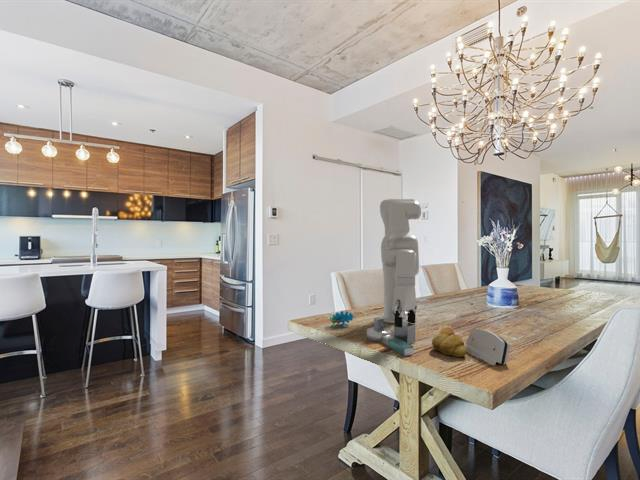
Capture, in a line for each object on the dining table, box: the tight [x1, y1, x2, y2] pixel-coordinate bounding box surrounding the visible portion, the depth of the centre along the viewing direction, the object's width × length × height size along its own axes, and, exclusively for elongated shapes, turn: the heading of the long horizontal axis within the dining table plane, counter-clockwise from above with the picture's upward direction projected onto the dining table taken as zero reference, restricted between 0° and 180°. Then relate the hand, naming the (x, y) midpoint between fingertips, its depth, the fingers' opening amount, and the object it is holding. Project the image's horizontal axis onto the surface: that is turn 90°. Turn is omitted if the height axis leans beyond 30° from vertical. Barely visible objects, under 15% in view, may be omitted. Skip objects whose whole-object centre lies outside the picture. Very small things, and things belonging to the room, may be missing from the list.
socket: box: [393, 321, 416, 345], centre depth 133 cm, size 6×6×7 cm
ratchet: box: [366, 316, 414, 357], centre depth 130 cm, size 10×26×8 cm, turn 20°
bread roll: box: [431, 326, 468, 358], centre depth 121 cm, size 13×10×8 cm
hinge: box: [464, 328, 511, 366], centre depth 118 cm, size 17×5×10 cm, turn 15°
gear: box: [329, 310, 354, 329], centre depth 155 cm, size 11×6×10 cm
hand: (405, 324), depth 132 cm, fingers open, 9 cm apart
